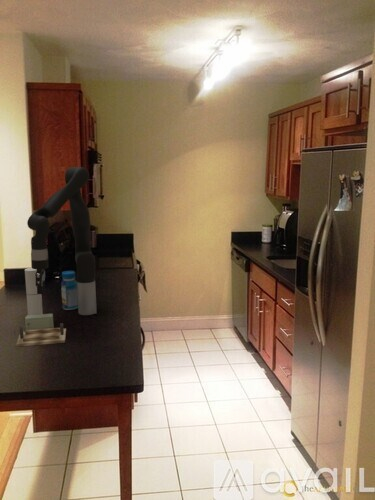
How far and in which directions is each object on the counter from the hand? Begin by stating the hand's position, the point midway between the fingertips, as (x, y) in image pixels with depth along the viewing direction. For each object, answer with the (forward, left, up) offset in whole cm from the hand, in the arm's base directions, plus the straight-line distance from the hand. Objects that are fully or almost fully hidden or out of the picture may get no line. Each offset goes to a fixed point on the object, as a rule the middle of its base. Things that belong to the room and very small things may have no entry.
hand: (40, 291), depth 208 cm
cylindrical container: (+5, -15, -18) cm, 24 cm away
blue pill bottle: (-12, -25, -18) cm, 33 cm away
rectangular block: (+1, +5, -18) cm, 18 cm away
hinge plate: (-1, +16, -17) cm, 24 cm away
